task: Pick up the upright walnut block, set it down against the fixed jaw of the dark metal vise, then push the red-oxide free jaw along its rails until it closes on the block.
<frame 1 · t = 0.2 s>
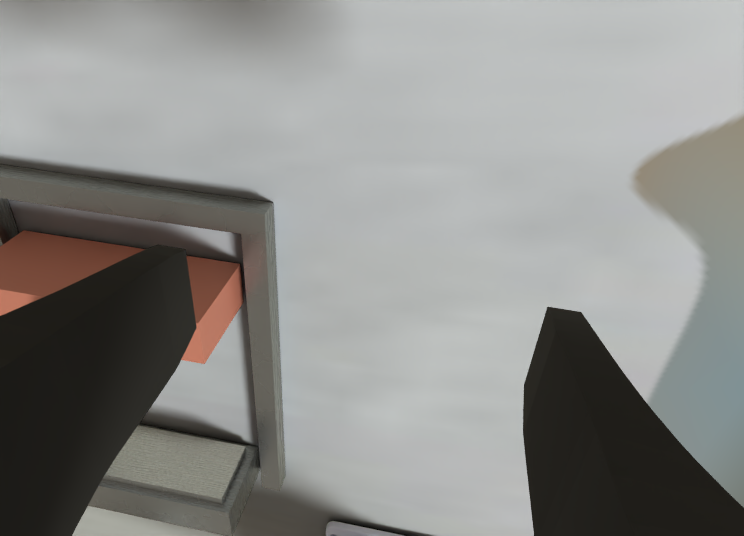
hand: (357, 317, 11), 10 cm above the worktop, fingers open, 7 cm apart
free jaw: (101, 303, 23), point 3 cm above the worktop, slide at 0.0 cm
vise body: (156, 363, 28), on the worktop
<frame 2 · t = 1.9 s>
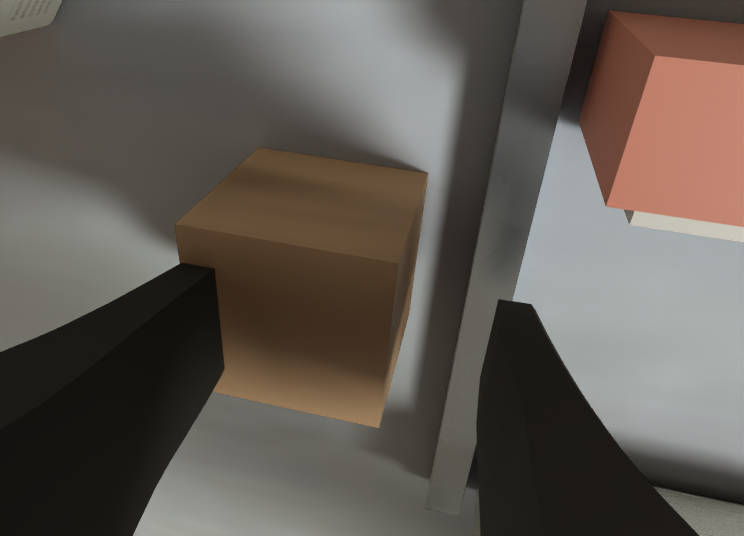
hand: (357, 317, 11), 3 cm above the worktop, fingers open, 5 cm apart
walnut block: (348, 217, 15), on the worktop, touching gripper
vise body: (739, 354, 13), on the worktop
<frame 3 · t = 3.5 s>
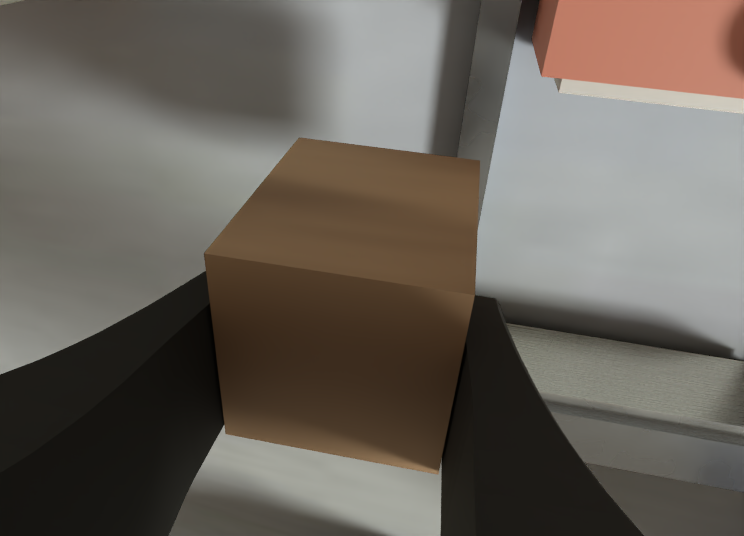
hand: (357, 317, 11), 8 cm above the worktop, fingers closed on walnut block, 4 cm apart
walnut block: (381, 228, 13), point 5 cm above the worktop, touching gripper
vise body: (657, 221, 18), on the worktop
when the fingers open (3 cm above the worktop, at t = 5.6 s): walnut block stays where it is, on the worktop.
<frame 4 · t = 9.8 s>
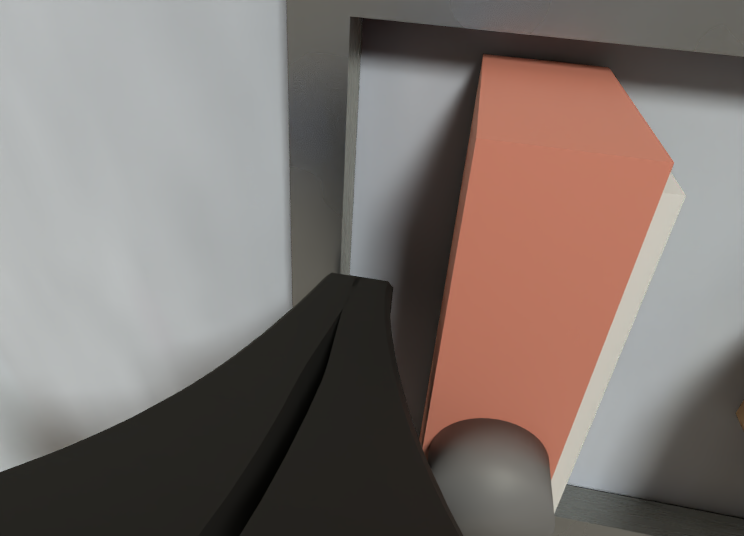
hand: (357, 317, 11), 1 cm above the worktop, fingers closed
free jaw: (500, 391, 10), point 3 cm above the worktop, slide at 0.1 cm, touching gripper
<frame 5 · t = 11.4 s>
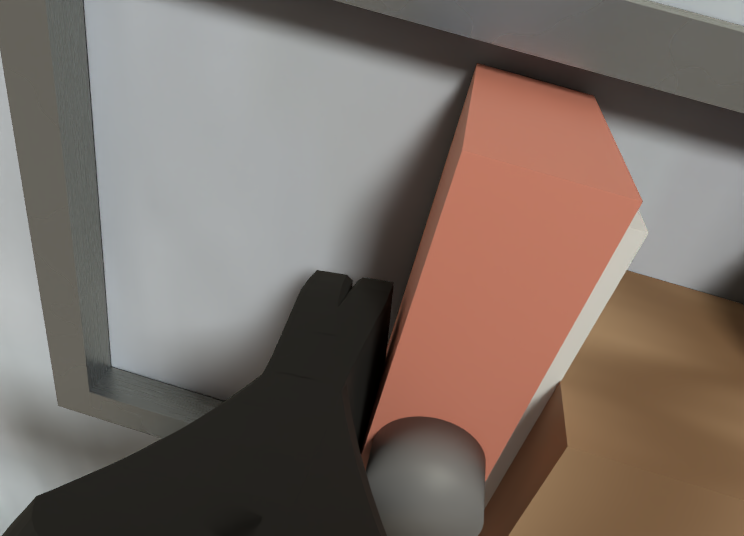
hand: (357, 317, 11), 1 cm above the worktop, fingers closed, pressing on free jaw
walnut block: (598, 347, 12), on the worktop, touching free jaw, vise body
free jaw: (447, 392, 10), point 3 cm above the worktop, slide at 5.2 cm, touching gripper, walnut block
vise body: (483, 311, 12), on the worktop
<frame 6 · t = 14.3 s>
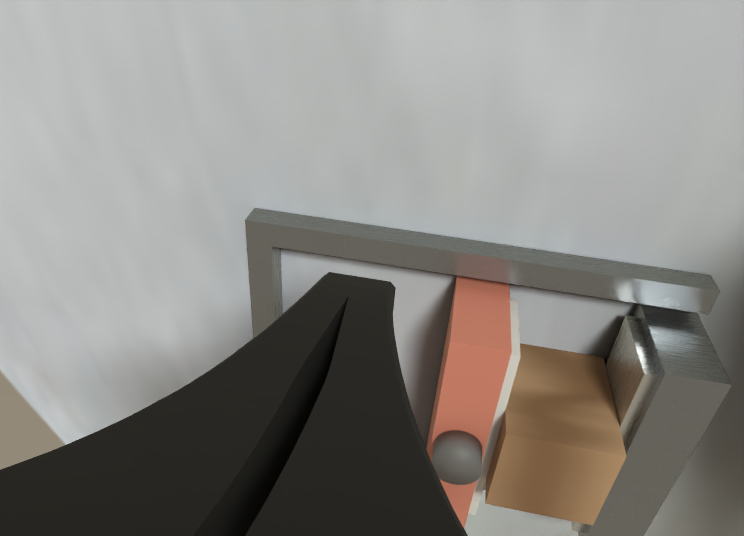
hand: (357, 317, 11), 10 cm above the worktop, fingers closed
walnut block: (542, 383, 24), on the worktop
free jaw: (465, 417, 22), point 3 cm above the worktop, slide at 5.2 cm
vise body: (482, 373, 24), on the worktop
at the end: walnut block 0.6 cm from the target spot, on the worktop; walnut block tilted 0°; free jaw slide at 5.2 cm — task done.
